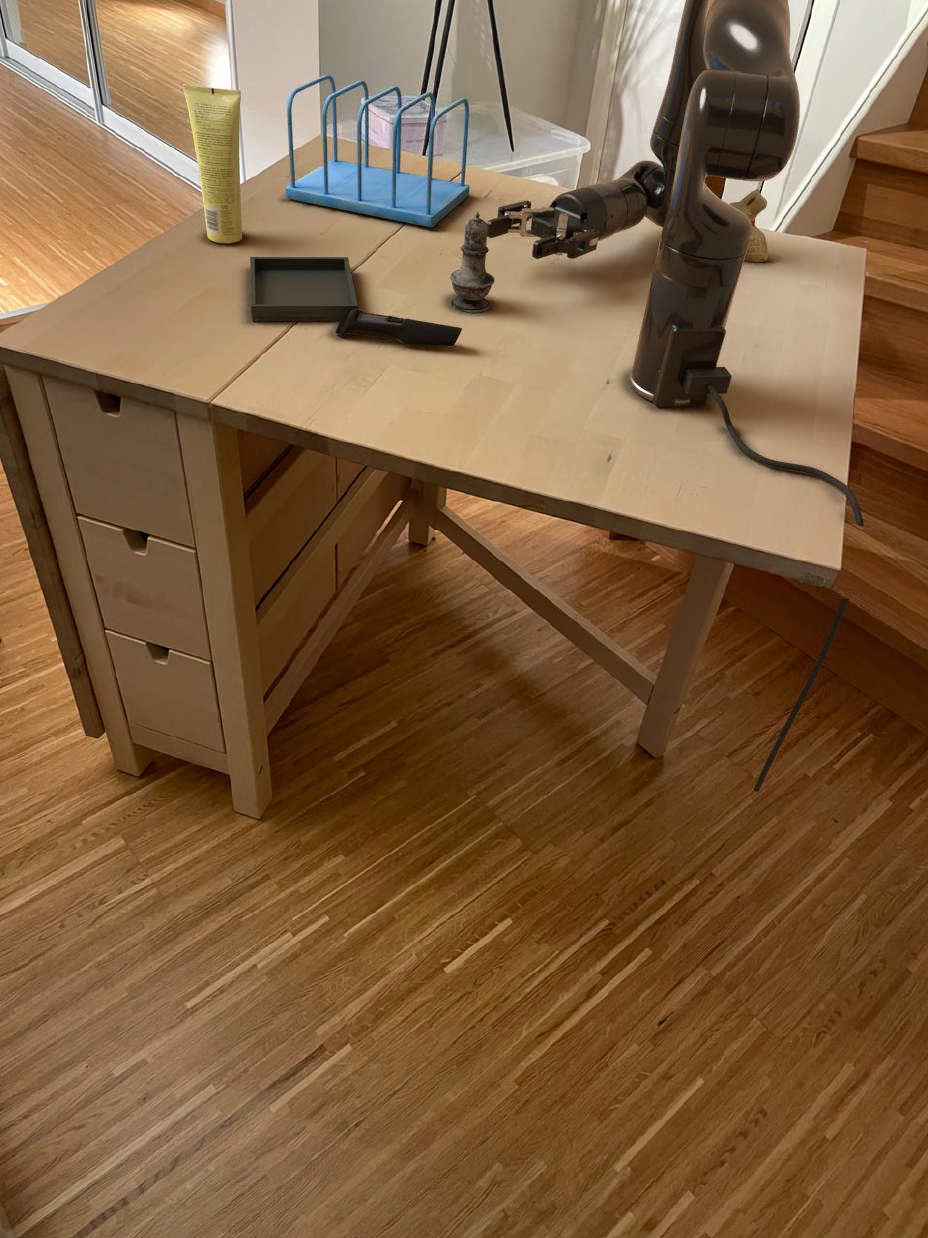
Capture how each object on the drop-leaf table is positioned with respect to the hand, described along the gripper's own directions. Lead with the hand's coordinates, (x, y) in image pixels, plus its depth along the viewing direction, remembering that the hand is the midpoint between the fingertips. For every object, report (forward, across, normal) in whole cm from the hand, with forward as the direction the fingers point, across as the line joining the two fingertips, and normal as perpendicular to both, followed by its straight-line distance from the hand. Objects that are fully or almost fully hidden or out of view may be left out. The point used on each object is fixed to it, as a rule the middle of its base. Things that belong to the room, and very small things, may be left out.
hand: (511, 240), depth 122 cm
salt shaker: (+7, 0, +7) cm, 10 cm away
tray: (+23, -15, +7) cm, 29 cm away
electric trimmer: (+22, +2, +7) cm, 23 cm away
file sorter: (-9, -37, +7) cm, 38 cm away
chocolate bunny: (-40, +12, +7) cm, 43 cm away
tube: (+21, -36, +7) cm, 42 cm away
